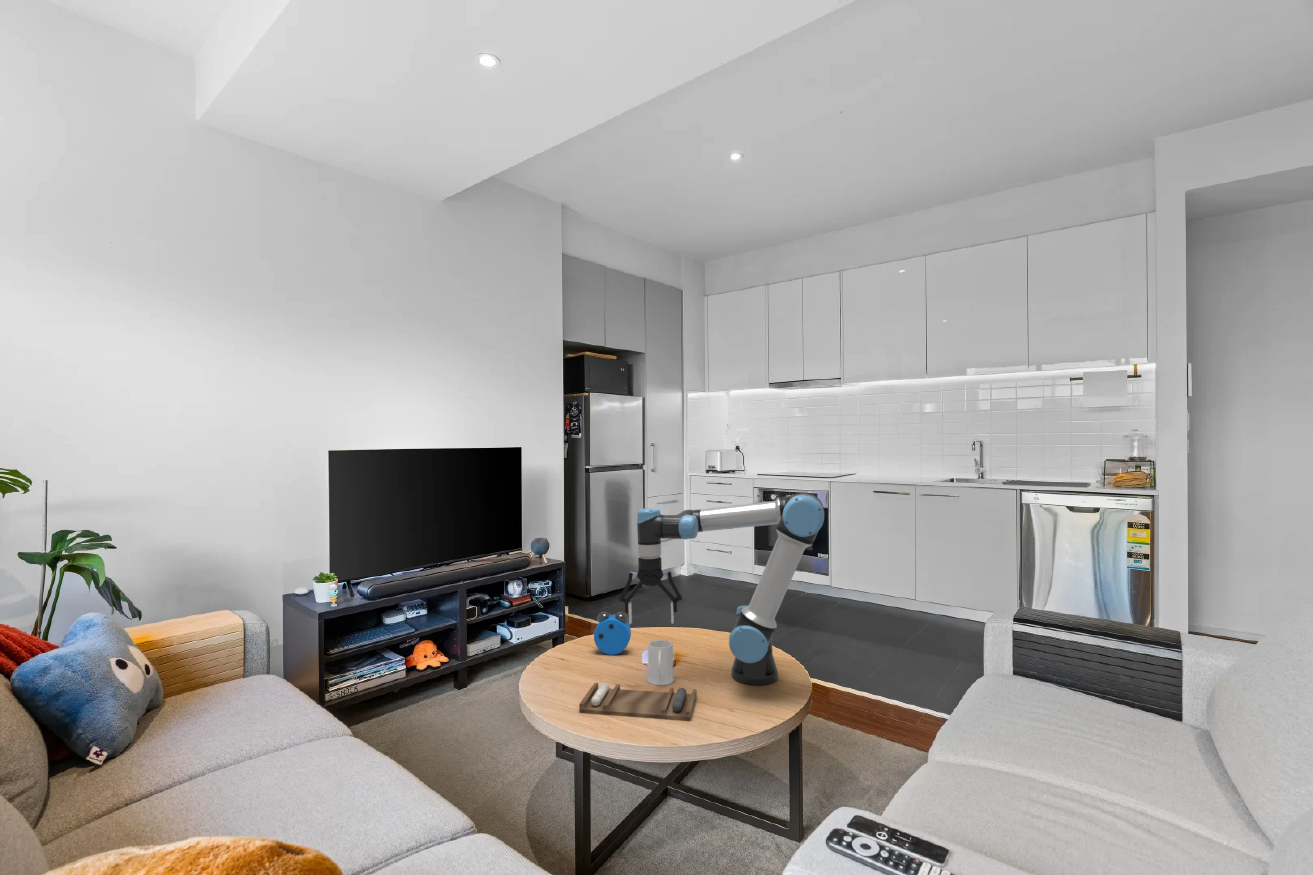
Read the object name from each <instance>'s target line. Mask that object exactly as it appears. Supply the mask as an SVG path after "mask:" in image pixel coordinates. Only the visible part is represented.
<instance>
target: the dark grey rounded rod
mask: <svg viewBox="0 0 1313 875" xmlns="http://www.w3.org/2000/svg"><path fill="white" fill-rule="evenodd" d="M676 693H677V694H676V696H675V699H674V702H673V705H672V708H673V710H674V711H675V712H679V711H681V709H682V706H683V703H684V700H685V697H686V694H688V693H687V689H686V688H684V687H679V688H678V689H677V691H676Z"/></svg>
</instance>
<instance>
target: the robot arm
mask: <svg viewBox="0 0 1313 875" xmlns="http://www.w3.org/2000/svg"><path fill="white" fill-rule="evenodd" d="M636 519H637V520H636V521H637V522H636V525H637V526H636V527H637V531H636V532H637V556H638V559H637V562H638V563H637V564H638V567H637V568H638V570H637V572H633V570H632V571H629V573H628V579H627V582H626V583H625V586H624V588H623V590H622V591H621V592H622V593H621V595H620V596H619V599H618V600H619V602H622V603H624V611H625V612H624V613H625V614H628V624H629V625H632V624H633V613H632V612H633V611H632V606H633V605H632V601H631V600H632V599H633V597H634V596H636V594H637V592H638V591H639V590H640V589H641V588H642V587H643V586H645V587H649V586H651V587H656V586H658V587H659V588H660V589H661V590H662V591H663V592H664V593H665V594H666V595H667V596H668V598H669V599H670V600H671V601H670V623H671V624H674V623H675V622H674V621H675V618H674V617H675V616H674V614H675V613H677V611H678V602H681V601H682V600H683V595H682V594H681V592H680V590H679V589H680V588H679V587H678V586H677V584H676V582H675V580H674V578H673V577H672V576H673V575H672V571H671V570H668V571H664V572H663V570H662V567H663V566H662V564H663V563H662V557H661V556H662V539H663V540H665V539H670V540H671V539H673V540H674V539H675V540H678V539H679V540H692V539H694V540H695V539H696V538H697V536H698V533H703V532H711V531H719V530H720V531H721V530H732V529H733V530H734V529H741V528H751V527H753V528H754V527H761V526H762V527H764V526H773V525H774V526H775V525H777V526H776V529H775V530H776V533H777V538H776V541H775V544H774V546H773V549H772V550H771V553H770V556H769V558H768V560H767V563H766V565H765V567H764V569H763V572H762V573H761V575H760V576H761V577H760V579H759V581H758V583H757V586H756V588H755V590H754V593H753V594H752V597H751V600H750V601H749V603H748V604H747V605H746V604H745V605H740V606H738V607H737V608H736V613H735V615H736V621H735V624H734V626H733V629H732V631H730V634H729V636H728V645H729V649H730V652H731V653H732V655H733V656H734V660H733V663H732V667H731V677H732V679H733V680H735V681H737V682H739V683H742V684H745V685H755V686H760V685H761V686H762V685H763V686H764V685H769V684H773V683H776V681H778V679H779V671H778V670H779V669H778V667H777V663H776V661H775V657H774V654H773V636H774V634H775V631H776V629H777V627H778V625H777V621H776V619H775V618H776V617H777V614H778V611H779V609H780V607H781V605H782V603H783V600H784V597H785V595H786V593H787V591H788V589H789V586H790V584H791V583H792V579H793V577H794V575H795V572H796V571H797V568H798V566H799V563H800V561H801V558H802V557H803V554H804V552H805V550H806V549H807V548H808V547H809V548H810V547H811V546H813V544H814V542H815V540H816V537H817V535H818V533H819V531H820V529H821V528H822V527H823V525H824V521H825V509H824V505H823V503H822V501H821V499H820V498H818V497H817V496H816V495H814V494H813V493H810V492H799V493H795V494H792V495H787V496H781V497H780V496H779V497H777V498H776V500H773V501H772V500H771V501H761V502H754V503H745V504H735V505H729V506H727V505H726V506H719V507H709V508H701V509H700V508H699V509H685V510H683V511H681V512H680V513H677V514H669V515H667V514H661V510H660V509H659V508H654V507H653V508H652V507H650V508H641V509H639V510H638V511H637V518H636ZM636 577H637V578H638V580H639V581H638V583H637V584H636V585H635V587H634V588H632V591H631V592H630V593H629V594H628V596H626V595H627V592H628V590H629V589H630V586H631V584H632V582H633V580H635V578H636ZM664 577H665V579H667V580H668V581H669V584H670V586H671V588H672V589H673V591H674V594H675V595H676V596H675V595H674V594H673V592H672V591H671V590H670V589H669V588H668V587H667V586H666V584H665V583H664V582H663V580H662V578H664ZM625 596H626V597H625Z"/></svg>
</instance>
